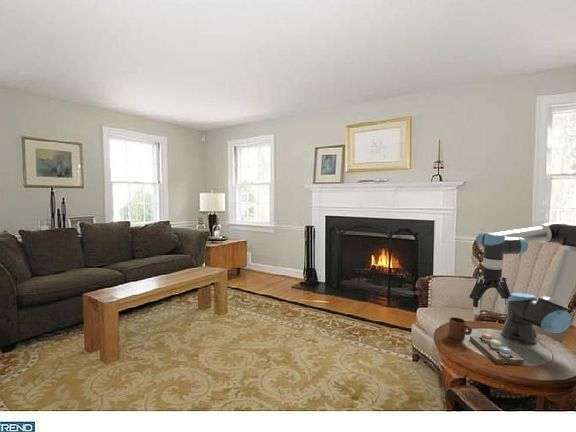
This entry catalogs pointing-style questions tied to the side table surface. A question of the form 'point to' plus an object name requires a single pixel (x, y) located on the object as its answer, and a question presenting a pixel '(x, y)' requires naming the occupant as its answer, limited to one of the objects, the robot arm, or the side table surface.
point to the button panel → (496, 351)
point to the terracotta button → (486, 337)
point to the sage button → (495, 344)
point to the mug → (458, 329)
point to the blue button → (505, 352)
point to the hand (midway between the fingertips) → (488, 312)
